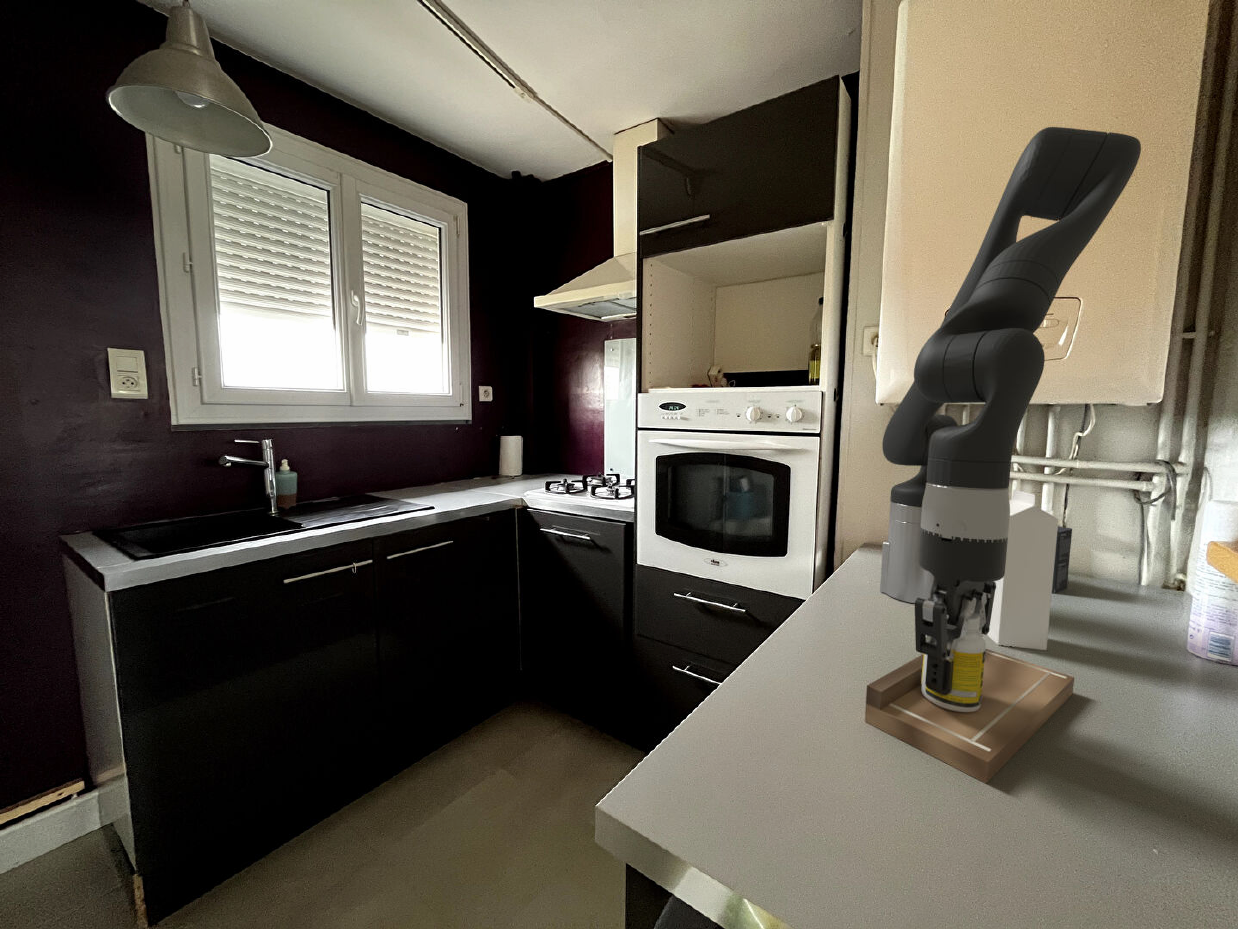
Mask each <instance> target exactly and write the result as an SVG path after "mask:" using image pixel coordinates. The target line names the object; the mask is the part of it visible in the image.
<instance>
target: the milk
mask: <svg viewBox="0 0 1238 929" xmlns="http://www.w3.org/2000/svg"><path fill="white" fill-rule="evenodd" d="M1012 490H1013V491H1012V496H1011V497H1012V498H1011V499H1009V502H1010V520H1009V531H1008V543H1007V554H1006V565H1005V575H1004V577H1003V578H1002V579H1000V580H998V581H994V582H996V590H995V595H994V602H993V608H992V614H991V621H990V627H989V628H990V630H989V632H988V634H987V635H986V636H988V637H989V639H991V640H992V641H993V642H994V643H995V644H996V645H997V644H998V645H997V646H1001V645H1003V646H1002V647H1010V646H1012V648H1020V649H1021V648H1022V649H1029V650H1030V649H1031V650H1039V651H1047V648H1048V636H1049V635H1048V634H1049V624H1050V616H1051V615H1050V614H1051V605H1052V595H1053V594H1052V593H1053V592H1052V584H1053V573H1054V562H1055V551H1056V540H1057V530H1058V526H1059V518H1058V517H1056V516H1054V515H1052V514H1051V513H1048V512H1047V511H1045V510H1043V509H1042V508H1040V507H1038V506H1036V495H1035V494H1033V493H1030V492H1026V491H1022V490H1017V489H1012Z"/></svg>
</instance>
